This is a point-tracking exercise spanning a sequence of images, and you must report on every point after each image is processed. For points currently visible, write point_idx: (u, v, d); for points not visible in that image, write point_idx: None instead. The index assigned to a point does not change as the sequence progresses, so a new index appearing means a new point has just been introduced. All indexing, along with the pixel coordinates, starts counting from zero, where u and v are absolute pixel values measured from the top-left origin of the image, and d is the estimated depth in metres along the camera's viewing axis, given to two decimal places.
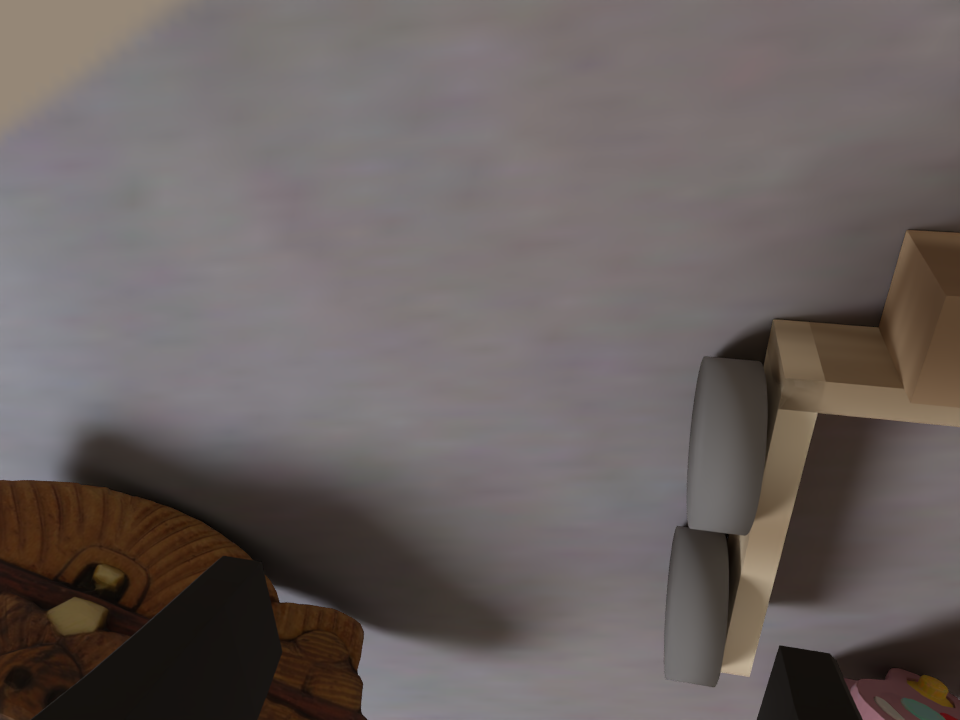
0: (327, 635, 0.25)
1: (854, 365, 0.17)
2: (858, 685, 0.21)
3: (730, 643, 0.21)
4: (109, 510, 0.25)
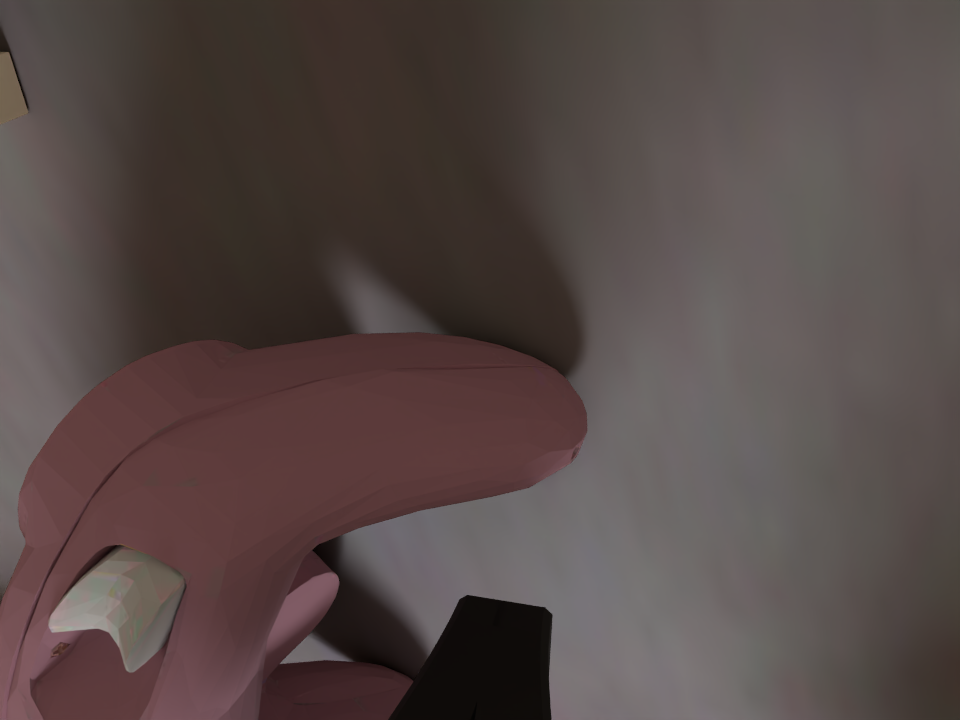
0: None
1: None
2: None
3: None
4: None
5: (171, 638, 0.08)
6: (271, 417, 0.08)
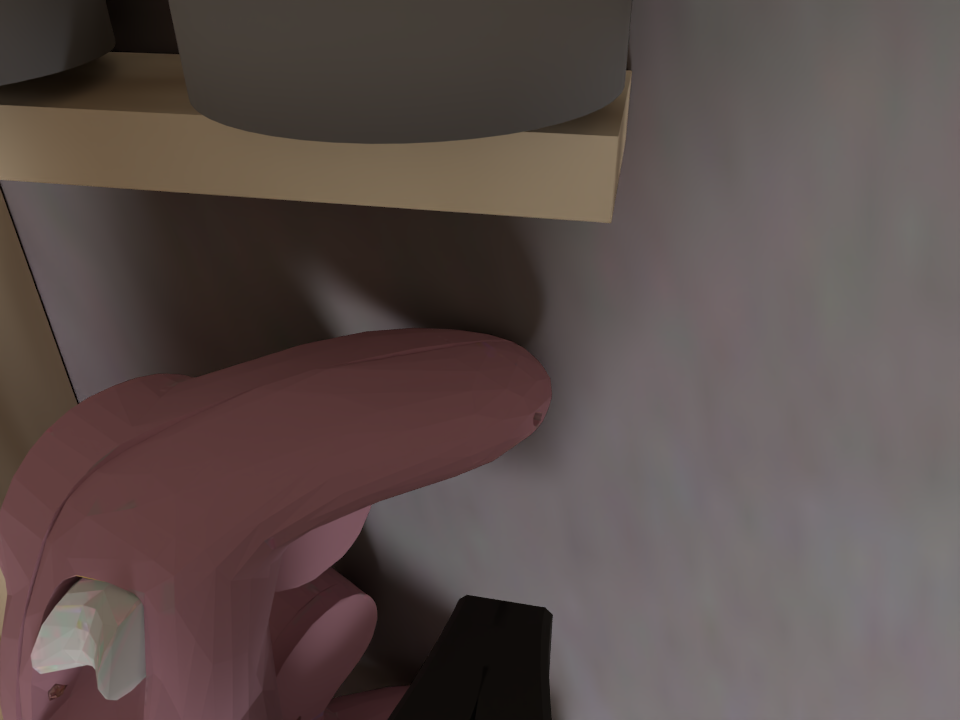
0: None
1: None
2: None
3: None
4: None
5: (146, 661, 0.08)
6: (205, 431, 0.09)
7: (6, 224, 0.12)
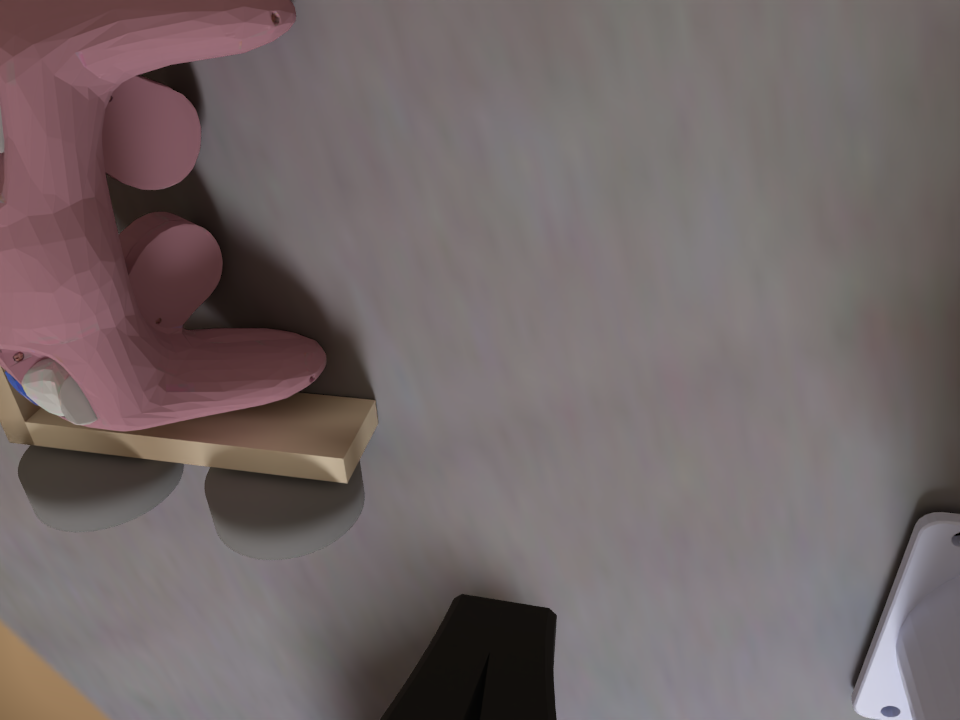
0: None
1: None
2: None
3: (300, 473, 0.20)
4: None
5: (2, 126, 0.13)
6: None
7: None
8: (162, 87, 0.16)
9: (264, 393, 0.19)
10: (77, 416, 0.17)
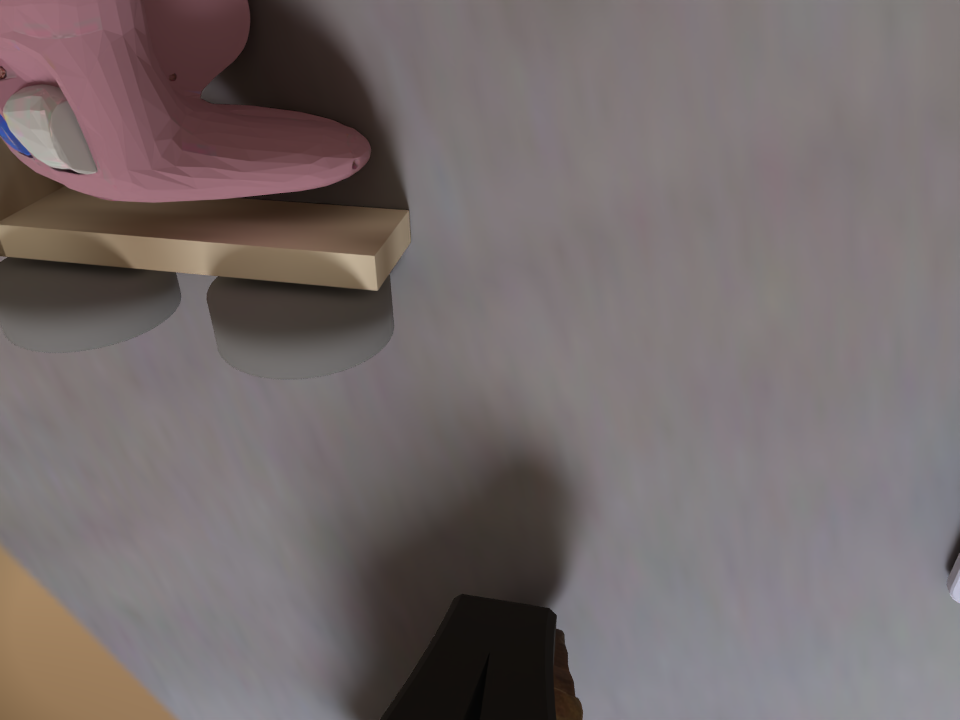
0: None
1: None
2: None
3: (321, 280, 0.17)
4: None
5: None
6: None
7: None
8: None
9: (299, 171, 0.16)
10: (73, 158, 0.13)
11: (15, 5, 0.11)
